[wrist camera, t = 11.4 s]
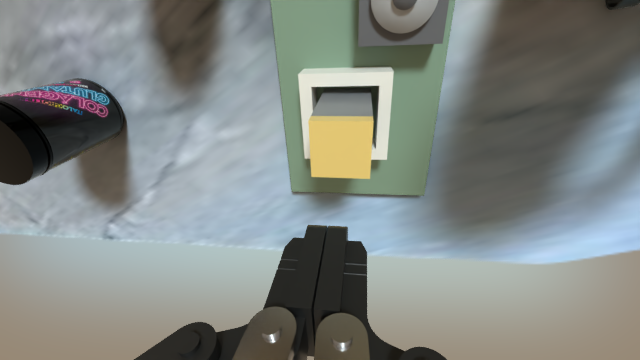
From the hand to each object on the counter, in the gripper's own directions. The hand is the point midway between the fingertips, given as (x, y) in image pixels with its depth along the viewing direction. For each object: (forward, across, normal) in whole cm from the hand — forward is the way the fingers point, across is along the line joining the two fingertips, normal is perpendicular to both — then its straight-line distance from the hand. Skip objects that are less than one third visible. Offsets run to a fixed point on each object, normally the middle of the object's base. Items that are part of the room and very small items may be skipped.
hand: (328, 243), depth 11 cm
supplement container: (+19, +27, 0) cm, 33 cm away
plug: (+18, 0, 0) cm, 18 cm away
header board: (+19, -1, -2) cm, 19 cm away
